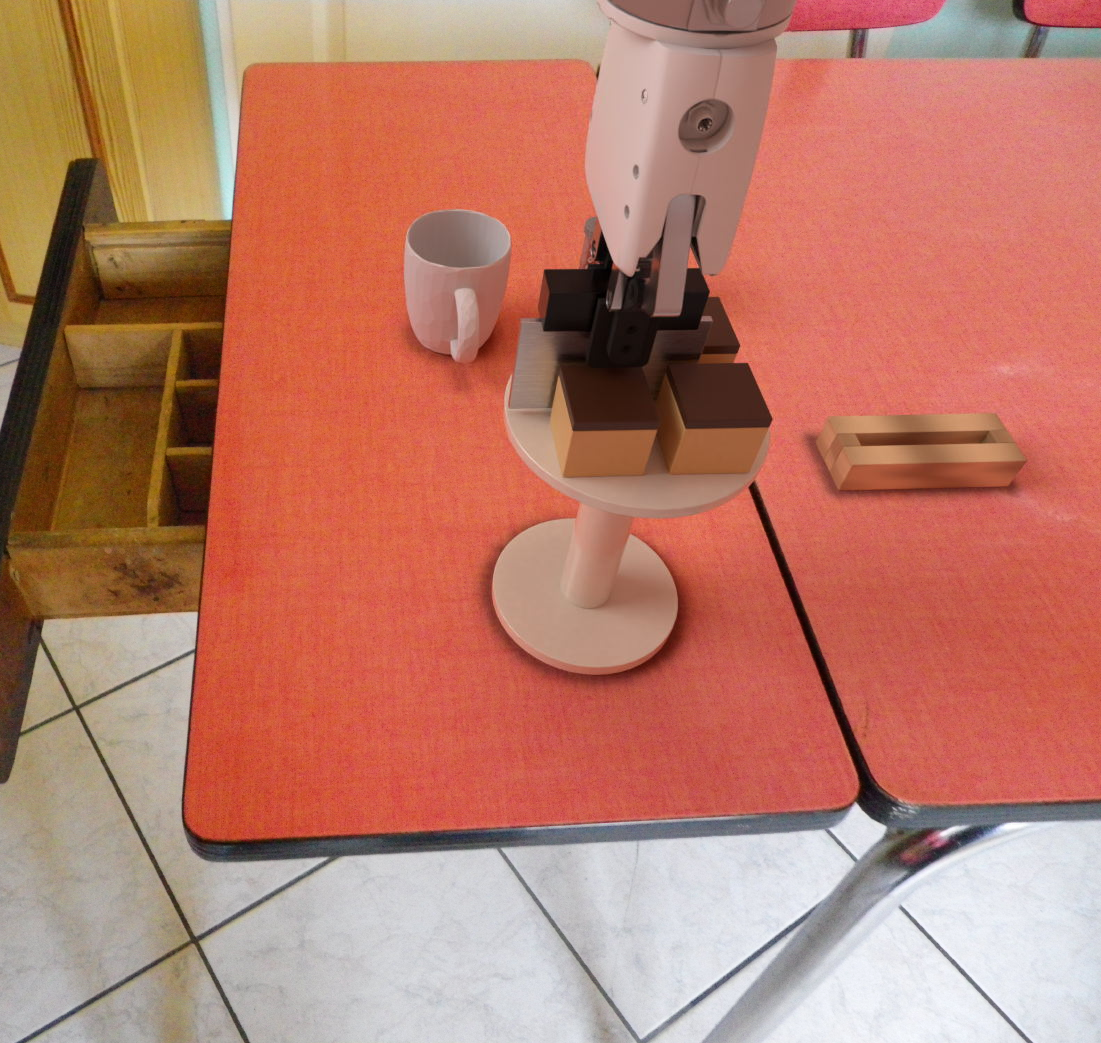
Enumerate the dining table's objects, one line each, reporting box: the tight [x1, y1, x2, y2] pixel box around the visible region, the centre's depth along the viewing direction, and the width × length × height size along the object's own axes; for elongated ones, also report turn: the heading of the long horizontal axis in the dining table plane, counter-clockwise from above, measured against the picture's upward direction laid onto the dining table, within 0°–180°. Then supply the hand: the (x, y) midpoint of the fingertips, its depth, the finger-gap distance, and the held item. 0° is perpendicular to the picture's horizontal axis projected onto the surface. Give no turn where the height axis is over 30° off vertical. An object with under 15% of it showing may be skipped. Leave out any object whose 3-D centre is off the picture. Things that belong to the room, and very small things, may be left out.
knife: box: [508, 267, 713, 409], centre depth 51 cm, size 10×2×8 cm, turn 93°
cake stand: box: [491, 373, 771, 676], centre depth 61 cm, size 15×15×18 cm
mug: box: [403, 208, 513, 364], centre depth 82 cm, size 13×9×10 cm
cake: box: [550, 296, 774, 477], centre depth 53 cm, size 10×10×4 cm
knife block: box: [815, 412, 1028, 491], centre depth 76 cm, size 14×5×3 cm, turn 93°
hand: (611, 344), depth 50 cm, fingers closed on knife, 2 cm apart
